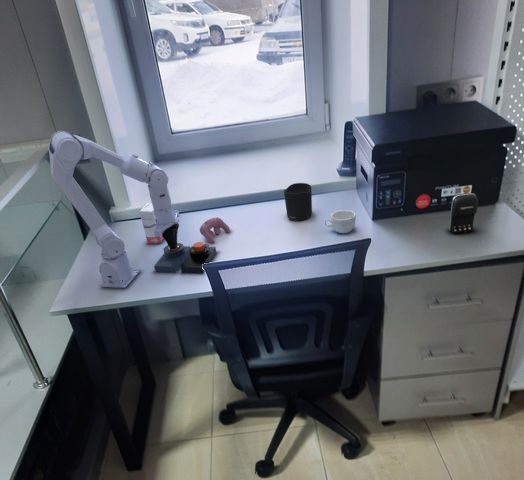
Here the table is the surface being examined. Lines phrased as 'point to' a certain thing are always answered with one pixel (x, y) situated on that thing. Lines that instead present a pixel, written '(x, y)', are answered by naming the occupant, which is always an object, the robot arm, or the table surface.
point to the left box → (172, 259)
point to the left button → (173, 248)
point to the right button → (198, 246)
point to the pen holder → (298, 201)
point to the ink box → (149, 223)
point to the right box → (198, 260)
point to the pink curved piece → (215, 224)
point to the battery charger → (463, 213)
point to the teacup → (342, 221)
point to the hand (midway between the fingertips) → (173, 247)
